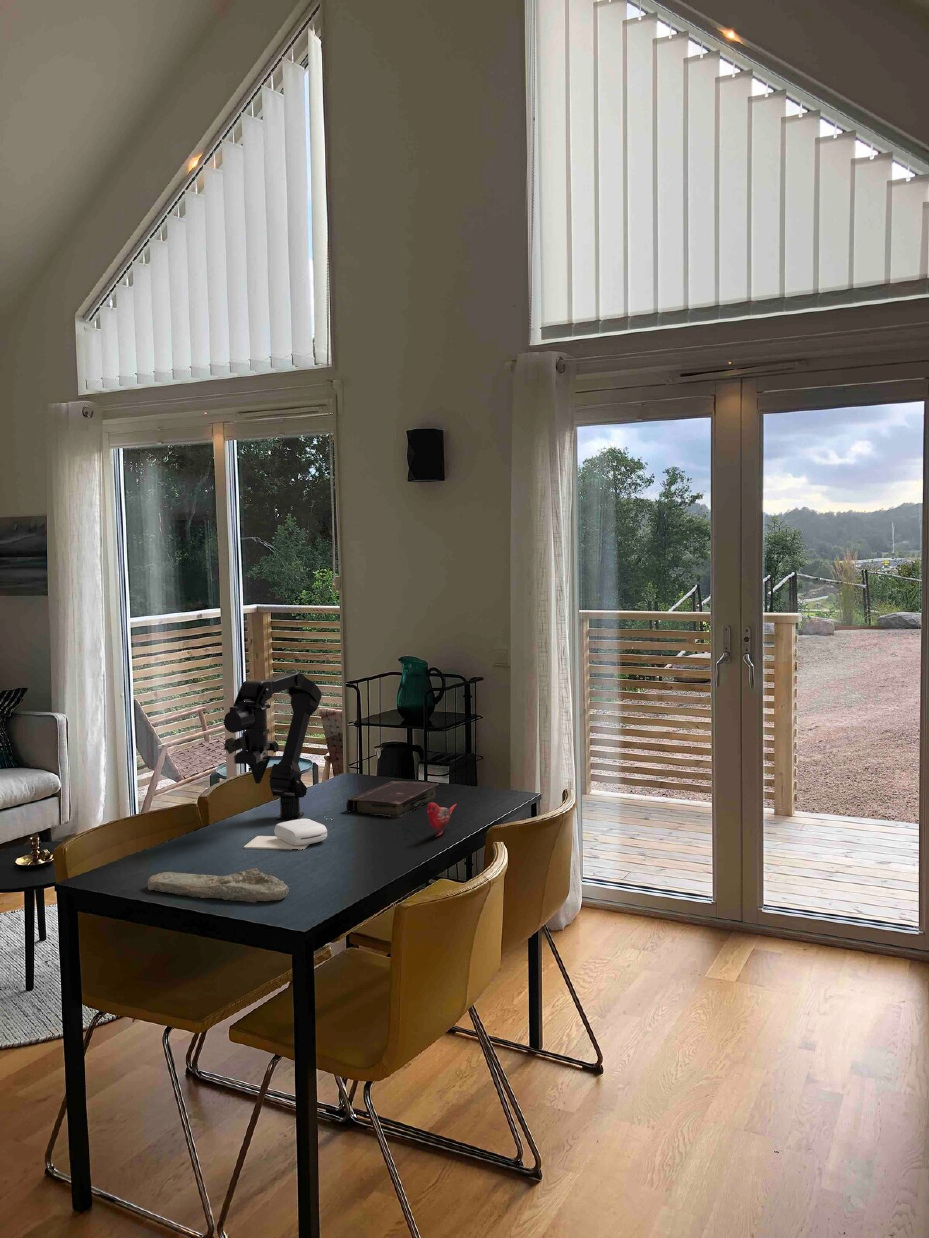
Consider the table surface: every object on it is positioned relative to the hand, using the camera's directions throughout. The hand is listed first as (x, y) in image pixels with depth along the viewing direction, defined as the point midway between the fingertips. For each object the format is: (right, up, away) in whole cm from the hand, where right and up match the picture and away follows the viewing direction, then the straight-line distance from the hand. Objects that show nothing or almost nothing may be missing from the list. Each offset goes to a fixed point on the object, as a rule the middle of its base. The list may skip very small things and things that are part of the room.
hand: (258, 783), depth 275 cm
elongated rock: (+1, -17, -50) cm, 53 cm away
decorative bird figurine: (+51, -13, -6) cm, 53 cm away
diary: (+36, -11, +26) cm, 45 cm away
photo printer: (+10, -11, -6) cm, 16 cm away
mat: (+8, -14, -13) cm, 20 cm away
